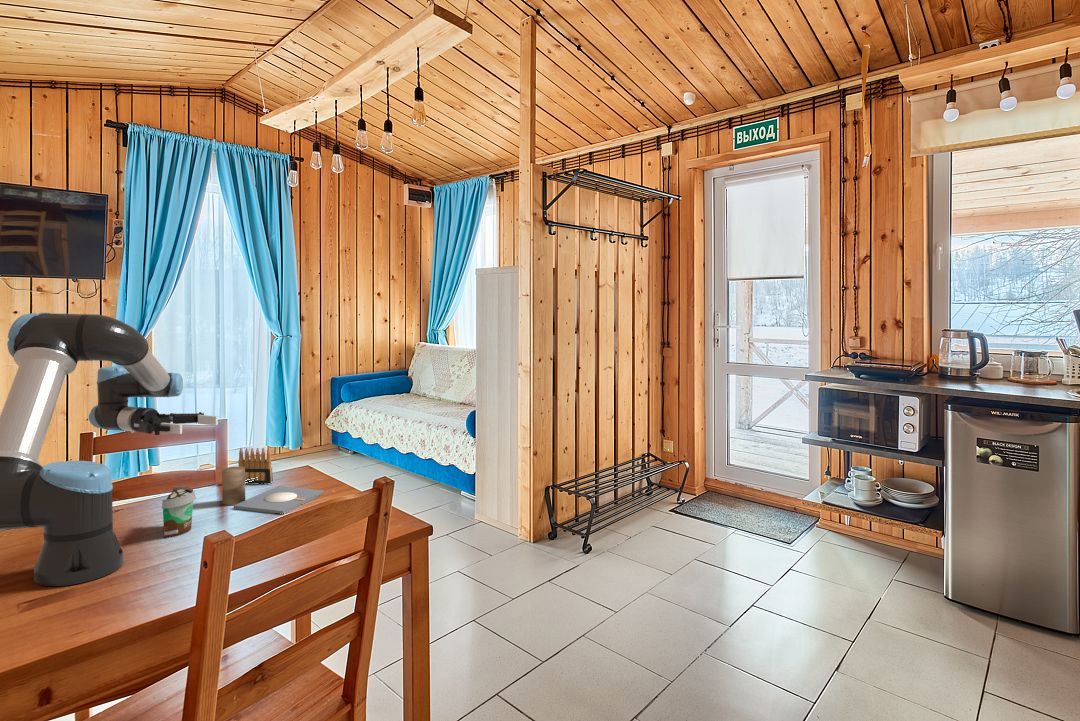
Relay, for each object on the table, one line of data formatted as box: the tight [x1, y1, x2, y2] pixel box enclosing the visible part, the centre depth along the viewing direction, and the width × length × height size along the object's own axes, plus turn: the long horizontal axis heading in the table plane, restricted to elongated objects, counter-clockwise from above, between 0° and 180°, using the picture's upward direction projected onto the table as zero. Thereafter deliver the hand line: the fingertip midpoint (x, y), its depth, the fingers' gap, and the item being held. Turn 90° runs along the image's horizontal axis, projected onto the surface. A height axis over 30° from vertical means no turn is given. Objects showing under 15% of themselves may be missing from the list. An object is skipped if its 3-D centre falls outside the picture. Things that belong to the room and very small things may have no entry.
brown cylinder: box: [221, 466, 246, 507], centre depth 170 cm, size 6×6×10 cm
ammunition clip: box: [238, 447, 274, 485], centre depth 188 cm, size 11×2×12 cm, turn 93°
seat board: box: [233, 485, 325, 515], centre depth 172 cm, size 20×16×1 cm
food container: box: [161, 486, 197, 539], centre depth 147 cm, size 12×6×10 cm, turn 22°
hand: (199, 424), depth 171 cm, fingers open, 13 cm apart
